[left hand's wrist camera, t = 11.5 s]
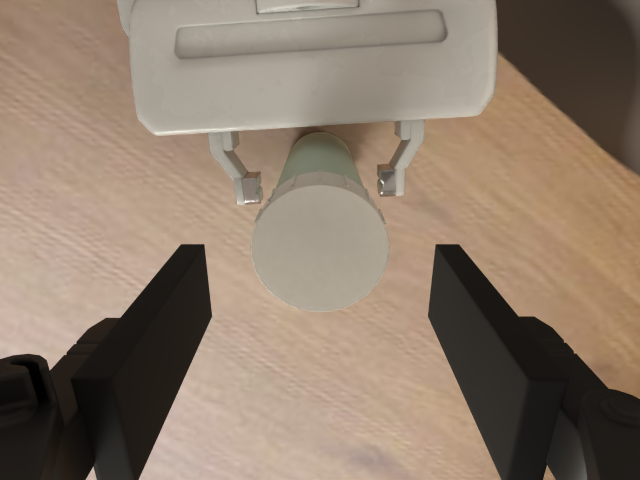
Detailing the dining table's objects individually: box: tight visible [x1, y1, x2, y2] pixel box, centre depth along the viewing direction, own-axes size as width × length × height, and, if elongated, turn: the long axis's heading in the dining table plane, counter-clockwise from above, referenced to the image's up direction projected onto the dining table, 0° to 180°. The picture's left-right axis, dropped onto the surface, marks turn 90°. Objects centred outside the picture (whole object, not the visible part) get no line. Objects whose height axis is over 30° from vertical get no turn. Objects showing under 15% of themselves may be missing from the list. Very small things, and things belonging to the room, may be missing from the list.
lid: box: [251, 170, 389, 312], centre depth 18 cm, size 6×6×2 cm
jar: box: [275, 132, 365, 190], centre depth 25 cm, size 5×5×17 cm
